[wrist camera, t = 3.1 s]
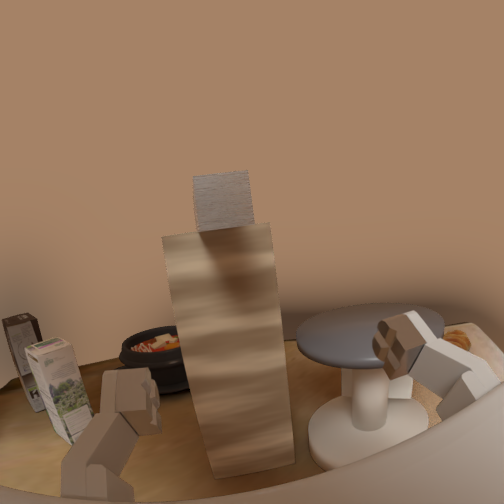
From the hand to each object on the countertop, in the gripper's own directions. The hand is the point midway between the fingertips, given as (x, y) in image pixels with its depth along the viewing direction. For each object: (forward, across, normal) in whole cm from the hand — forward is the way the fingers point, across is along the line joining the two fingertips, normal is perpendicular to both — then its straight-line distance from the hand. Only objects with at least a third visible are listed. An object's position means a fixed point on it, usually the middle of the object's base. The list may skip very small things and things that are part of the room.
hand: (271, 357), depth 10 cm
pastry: (+12, -37, +33) cm, 51 cm away
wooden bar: (+19, 0, +6) cm, 20 cm away
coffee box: (+23, +36, +38) cm, 57 cm away
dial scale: (+3, -13, +27) cm, 30 cm away
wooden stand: (+10, 0, +31) cm, 33 cm away
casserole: (+28, +11, +41) cm, 51 cm away
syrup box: (+13, +25, +33) cm, 43 cm away
